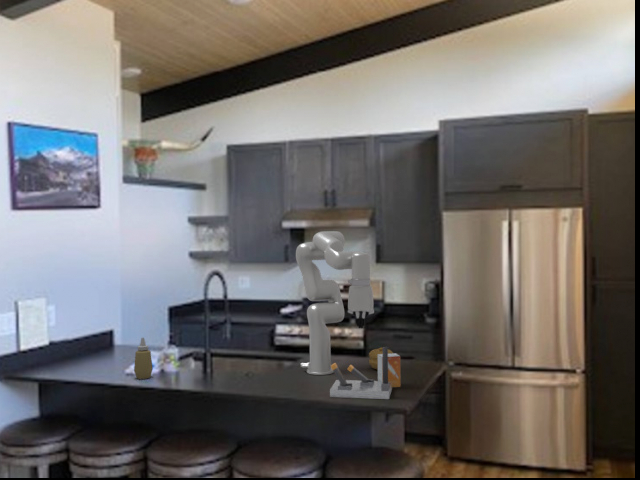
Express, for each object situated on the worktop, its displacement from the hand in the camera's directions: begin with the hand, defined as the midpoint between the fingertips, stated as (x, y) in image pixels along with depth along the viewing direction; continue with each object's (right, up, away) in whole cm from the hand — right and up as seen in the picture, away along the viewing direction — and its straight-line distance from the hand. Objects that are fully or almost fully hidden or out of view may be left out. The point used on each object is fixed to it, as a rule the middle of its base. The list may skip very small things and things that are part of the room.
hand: (361, 327), depth 268 cm
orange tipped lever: (-7, -22, -9) cm, 24 cm away
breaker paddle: (+2, -21, -4) cm, 22 cm away
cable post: (+9, -22, -12) cm, 27 cm away
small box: (+12, -25, +5) cm, 28 cm away
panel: (0, -25, -6) cm, 26 cm away
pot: (+12, -24, +37) cm, 46 cm away
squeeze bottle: (-96, -26, +26) cm, 103 cm away
